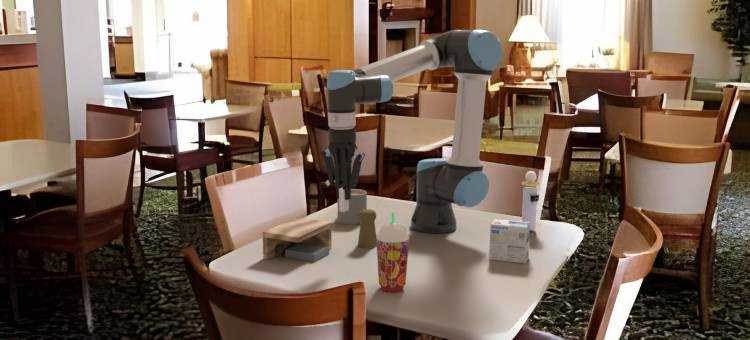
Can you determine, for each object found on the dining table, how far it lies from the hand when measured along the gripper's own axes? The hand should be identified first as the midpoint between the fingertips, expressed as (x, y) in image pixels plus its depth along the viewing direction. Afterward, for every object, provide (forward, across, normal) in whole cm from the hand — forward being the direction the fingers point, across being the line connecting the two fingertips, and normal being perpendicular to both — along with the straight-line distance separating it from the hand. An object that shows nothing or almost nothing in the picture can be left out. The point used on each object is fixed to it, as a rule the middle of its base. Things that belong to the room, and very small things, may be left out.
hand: (344, 210), depth 202 cm
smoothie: (+15, +22, -14) cm, 30 cm away
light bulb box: (+16, +40, +24) cm, 50 cm away
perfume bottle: (+17, +38, +55) cm, 69 cm away
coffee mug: (+16, -20, +40) cm, 48 cm away
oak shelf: (+15, -16, -1) cm, 21 cm away
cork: (+15, -2, +16) cm, 22 cm away
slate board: (+15, -12, -1) cm, 19 cm away
